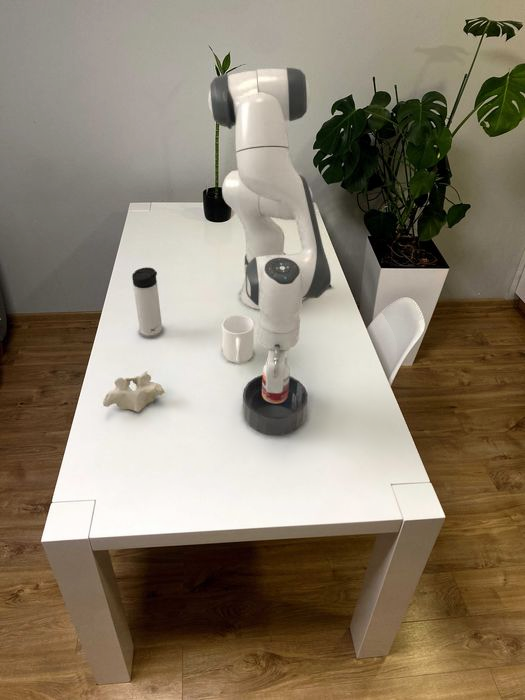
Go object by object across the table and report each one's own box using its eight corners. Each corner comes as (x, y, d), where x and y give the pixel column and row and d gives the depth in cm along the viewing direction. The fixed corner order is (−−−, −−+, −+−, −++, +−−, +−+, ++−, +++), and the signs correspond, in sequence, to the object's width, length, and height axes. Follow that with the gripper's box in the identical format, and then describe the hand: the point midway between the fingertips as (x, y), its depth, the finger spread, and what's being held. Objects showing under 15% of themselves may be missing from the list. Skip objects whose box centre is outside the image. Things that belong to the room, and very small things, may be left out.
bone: (164, 406, 134) (165, 384, 129) (111, 428, 128) (109, 406, 122) (148, 381, 139) (148, 360, 133) (96, 401, 132) (93, 379, 127)
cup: (252, 343, 152) (253, 314, 146) (254, 372, 143) (255, 342, 137) (222, 344, 152) (222, 314, 145) (223, 373, 143) (222, 343, 136)
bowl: (284, 383, 140) (285, 365, 136) (318, 421, 130) (320, 403, 127) (231, 403, 134) (231, 386, 130) (263, 445, 124) (264, 427, 120)
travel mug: (159, 340, 152) (151, 279, 140) (136, 336, 153) (127, 276, 141) (166, 326, 157) (160, 267, 144) (145, 323, 158) (136, 263, 145)
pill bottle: (256, 396, 128) (257, 360, 121) (273, 382, 132) (275, 347, 125) (276, 408, 125) (279, 373, 118) (293, 394, 129) (296, 359, 122)
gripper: (291, 364, 108) (287, 413, 117) (294, 305, 124) (291, 352, 133) (259, 362, 108) (258, 410, 117) (267, 303, 124) (265, 350, 133)
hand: (275, 379), depth 125 cm, fingers closed on pill bottle, 6 cm apart
